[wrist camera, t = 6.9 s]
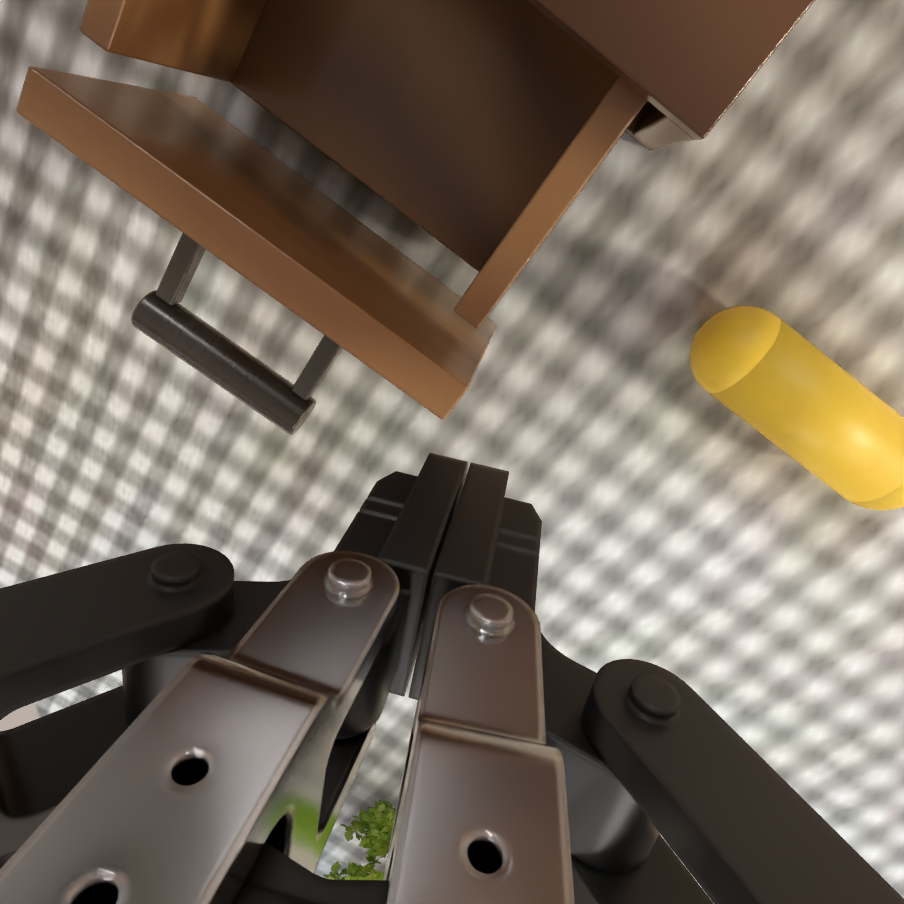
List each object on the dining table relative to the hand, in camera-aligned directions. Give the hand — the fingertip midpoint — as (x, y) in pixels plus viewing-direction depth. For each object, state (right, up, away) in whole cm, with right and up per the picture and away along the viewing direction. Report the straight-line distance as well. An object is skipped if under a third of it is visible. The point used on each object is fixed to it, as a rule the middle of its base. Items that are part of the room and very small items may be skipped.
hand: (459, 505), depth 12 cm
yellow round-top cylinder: (+12, +3, +11) cm, 17 cm away
